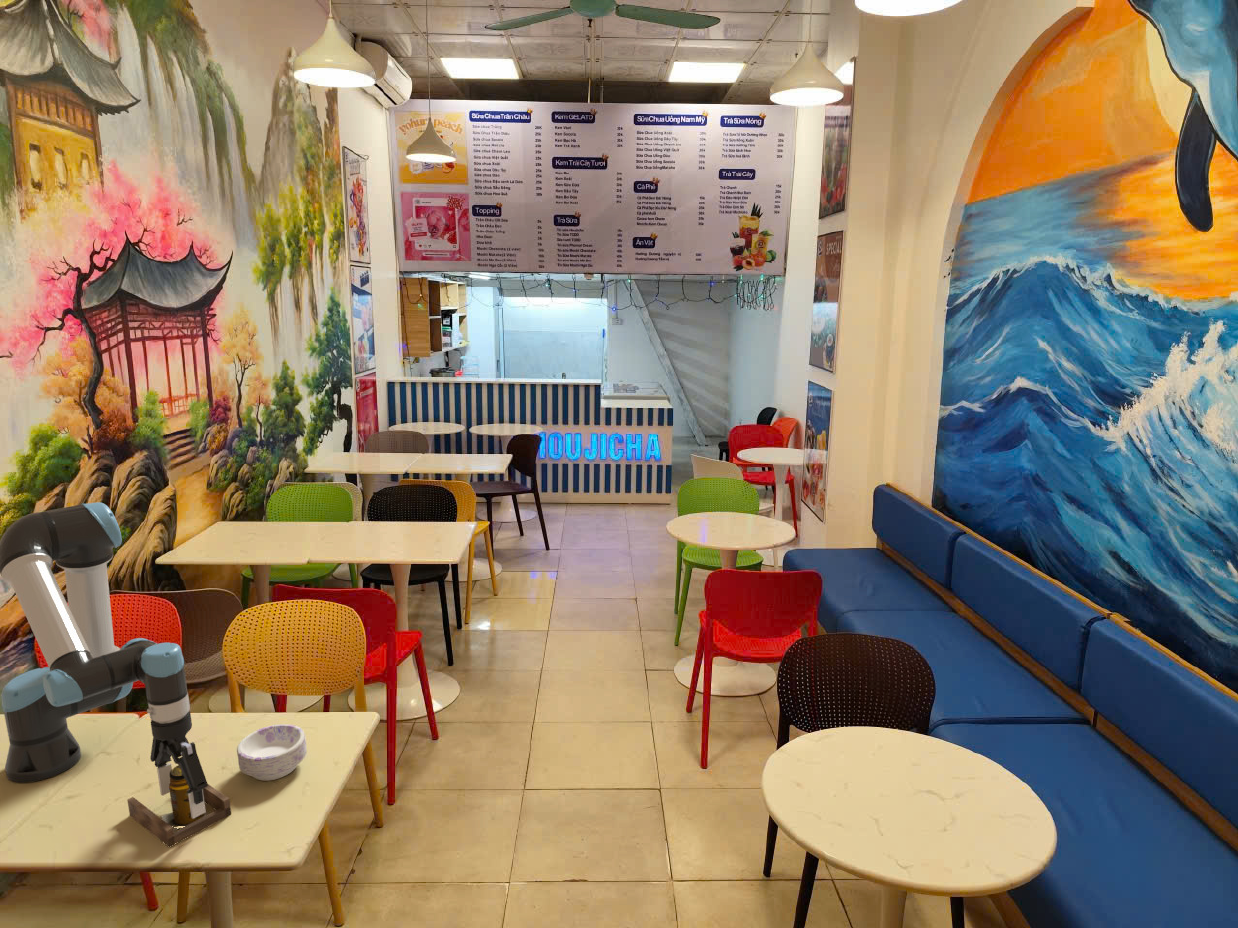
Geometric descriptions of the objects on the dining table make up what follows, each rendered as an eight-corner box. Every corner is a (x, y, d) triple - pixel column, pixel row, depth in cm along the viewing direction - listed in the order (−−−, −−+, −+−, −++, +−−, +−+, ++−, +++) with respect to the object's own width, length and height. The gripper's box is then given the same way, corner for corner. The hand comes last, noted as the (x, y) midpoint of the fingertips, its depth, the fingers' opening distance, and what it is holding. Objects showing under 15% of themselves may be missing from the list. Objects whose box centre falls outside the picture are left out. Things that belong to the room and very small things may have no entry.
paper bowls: (235, 793, 189) (231, 762, 187) (245, 757, 203) (242, 728, 201) (305, 782, 193) (302, 752, 191) (310, 747, 207) (308, 719, 205)
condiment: (208, 820, 179) (201, 771, 177) (164, 834, 175) (157, 784, 172) (204, 803, 185) (197, 755, 183) (161, 816, 181) (154, 768, 178)
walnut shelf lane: (129, 815, 181) (127, 799, 180) (190, 785, 192) (188, 770, 191) (169, 847, 171) (166, 830, 170) (231, 814, 181) (229, 798, 180)
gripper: (125, 705, 179) (138, 791, 183) (181, 741, 164) (194, 834, 169) (160, 691, 185) (172, 775, 189) (217, 725, 170) (229, 815, 175)
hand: (182, 803), depth 179 cm, fingers open, 13 cm apart
